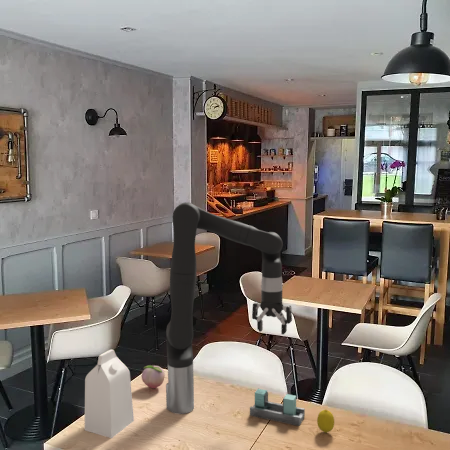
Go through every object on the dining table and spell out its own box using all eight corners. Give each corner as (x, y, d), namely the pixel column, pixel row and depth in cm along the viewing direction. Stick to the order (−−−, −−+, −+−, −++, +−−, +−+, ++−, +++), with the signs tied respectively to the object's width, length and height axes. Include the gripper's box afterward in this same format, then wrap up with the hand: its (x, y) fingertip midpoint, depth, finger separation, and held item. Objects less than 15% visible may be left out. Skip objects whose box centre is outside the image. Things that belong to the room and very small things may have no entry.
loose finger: (296, 414, 170) (296, 395, 169) (293, 419, 167) (293, 400, 166) (285, 412, 172) (285, 393, 171) (282, 417, 169) (282, 398, 168)
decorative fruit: (169, 385, 196) (168, 361, 195) (159, 394, 189) (158, 369, 187) (148, 382, 200) (148, 358, 198) (138, 390, 192) (137, 366, 191)
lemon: (334, 438, 157) (334, 414, 156) (316, 436, 158) (317, 413, 157) (334, 429, 163) (334, 406, 162) (317, 427, 164) (317, 404, 163)
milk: (107, 413, 174) (104, 344, 171) (133, 420, 169) (131, 349, 166) (84, 430, 164) (80, 356, 160) (111, 438, 159) (108, 362, 155)
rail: (249, 415, 172) (249, 394, 171) (256, 406, 178) (256, 386, 177) (299, 426, 165) (299, 403, 164) (304, 416, 171) (304, 395, 170)
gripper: (294, 287, 173) (293, 331, 175) (256, 284, 179) (256, 326, 181) (288, 292, 167) (287, 338, 169) (249, 289, 172) (249, 333, 174)
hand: (271, 332), depth 175 cm, fingers open, 8 cm apart
